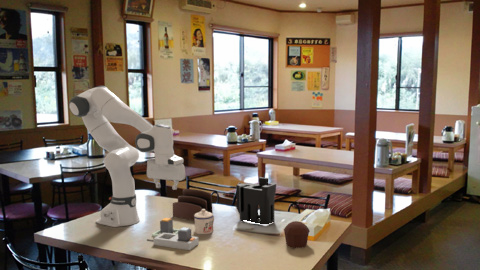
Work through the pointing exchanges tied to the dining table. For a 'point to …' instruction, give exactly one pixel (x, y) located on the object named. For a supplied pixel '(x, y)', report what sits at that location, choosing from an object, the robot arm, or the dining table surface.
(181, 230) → the dark grey block
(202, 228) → the teacup with lid
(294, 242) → the muffin
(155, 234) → the tray
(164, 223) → the plug
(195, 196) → the letter holder
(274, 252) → the dining table surface
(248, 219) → the black machined bracket
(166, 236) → the power strip
